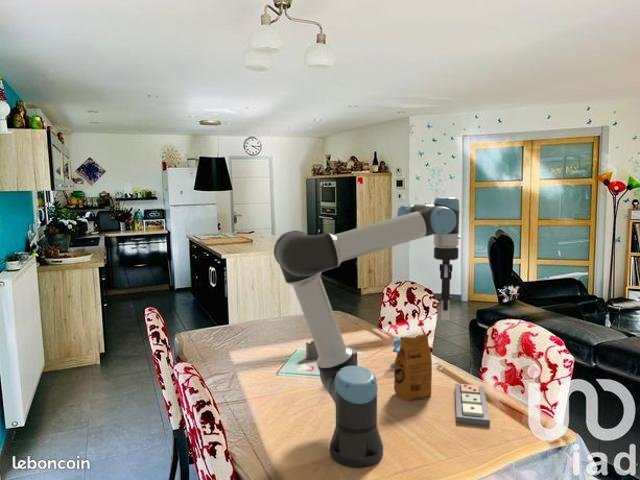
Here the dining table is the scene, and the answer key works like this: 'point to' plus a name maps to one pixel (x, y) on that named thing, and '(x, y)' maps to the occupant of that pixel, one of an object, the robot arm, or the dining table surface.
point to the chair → (396, 347)
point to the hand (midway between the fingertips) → (445, 319)
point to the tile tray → (466, 418)
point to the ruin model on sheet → (311, 351)
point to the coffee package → (413, 368)
